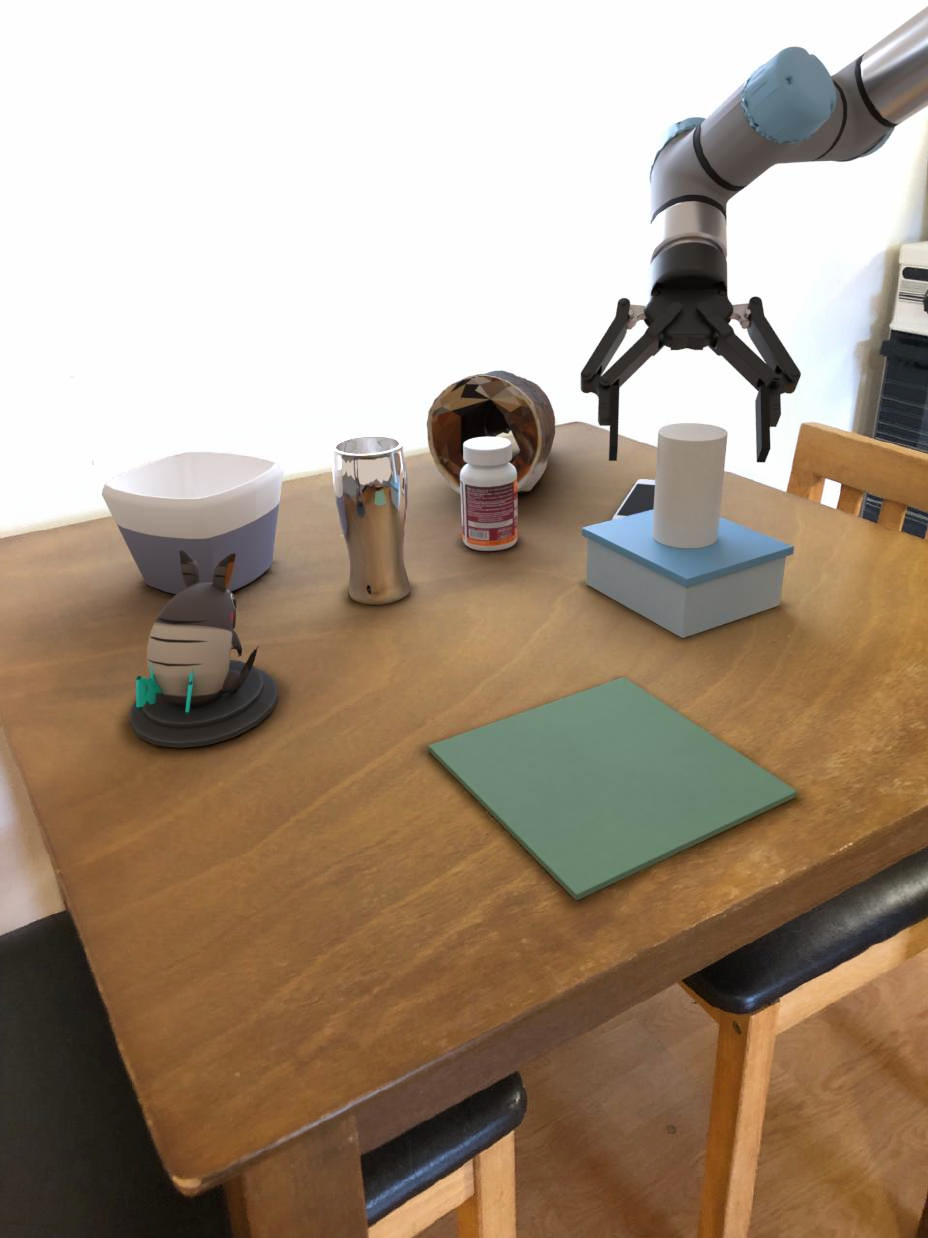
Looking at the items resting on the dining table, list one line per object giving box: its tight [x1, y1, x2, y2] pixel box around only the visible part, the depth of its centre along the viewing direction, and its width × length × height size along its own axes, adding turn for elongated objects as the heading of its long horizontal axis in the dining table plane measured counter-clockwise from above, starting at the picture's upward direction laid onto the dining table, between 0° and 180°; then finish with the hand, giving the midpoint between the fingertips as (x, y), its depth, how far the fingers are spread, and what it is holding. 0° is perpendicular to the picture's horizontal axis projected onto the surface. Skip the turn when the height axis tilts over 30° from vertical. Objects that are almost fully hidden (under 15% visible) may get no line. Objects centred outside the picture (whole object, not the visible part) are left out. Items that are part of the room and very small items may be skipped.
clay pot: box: [426, 370, 556, 495], centre depth 124 cm, size 15×15×25 cm
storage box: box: [581, 509, 795, 639], centre depth 89 cm, size 15×13×6 cm
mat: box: [428, 676, 798, 902], centre depth 65 cm, size 18×18×1 cm
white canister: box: [652, 422, 728, 548], centre depth 85 cm, size 6×6×10 cm
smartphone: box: [611, 478, 655, 520], centre depth 112 cm, size 7×16×1 cm, turn 159°
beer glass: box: [331, 434, 411, 606], centre depth 89 cm, size 7×7×15 cm
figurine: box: [129, 550, 279, 749], centre depth 72 cm, size 11×12×12 cm
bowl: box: [101, 450, 284, 595], centre depth 96 cm, size 15×15×11 cm
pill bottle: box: [460, 436, 519, 552], centre depth 101 cm, size 6×6×11 cm
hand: (687, 455), depth 86 cm, fingers open, 13 cm apart
